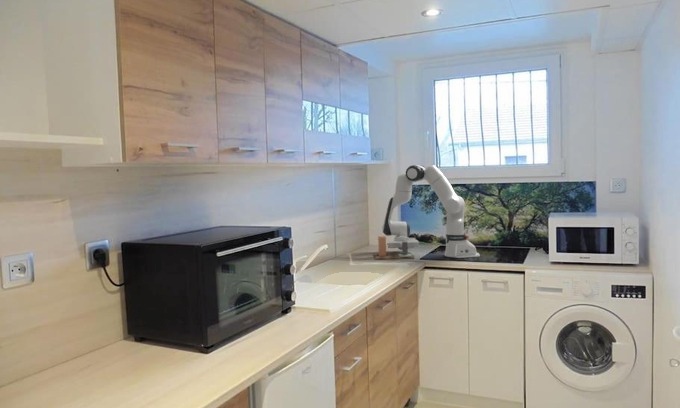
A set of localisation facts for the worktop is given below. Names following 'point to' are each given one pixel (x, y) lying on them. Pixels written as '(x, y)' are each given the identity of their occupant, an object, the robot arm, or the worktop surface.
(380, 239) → the block
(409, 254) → the grey upright piece
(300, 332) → the worktop surface
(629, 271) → the worktop surface
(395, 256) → the board
